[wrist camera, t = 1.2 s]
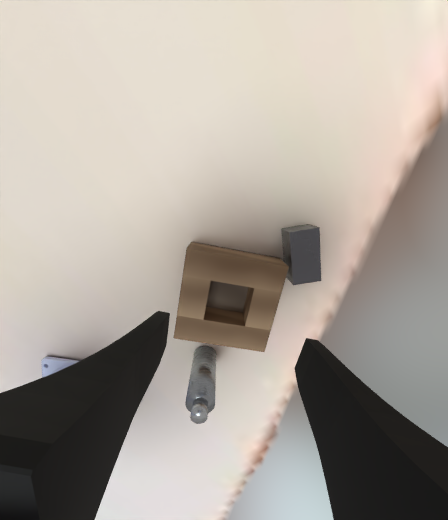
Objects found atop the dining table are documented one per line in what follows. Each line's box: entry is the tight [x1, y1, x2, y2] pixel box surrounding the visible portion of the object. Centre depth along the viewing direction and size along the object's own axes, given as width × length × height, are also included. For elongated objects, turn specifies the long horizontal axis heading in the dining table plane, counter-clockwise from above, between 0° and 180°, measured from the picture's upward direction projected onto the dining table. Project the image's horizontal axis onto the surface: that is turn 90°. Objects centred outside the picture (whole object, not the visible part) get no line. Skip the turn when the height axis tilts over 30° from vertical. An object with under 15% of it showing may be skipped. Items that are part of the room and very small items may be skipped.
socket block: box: [174, 242, 289, 352], centre depth 21 cm, size 9×9×3 cm
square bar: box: [281, 224, 321, 285], centre depth 20 cm, size 5×3×3 cm, turn 9°
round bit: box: [186, 346, 216, 424], centre depth 21 cm, size 3×3×7 cm
